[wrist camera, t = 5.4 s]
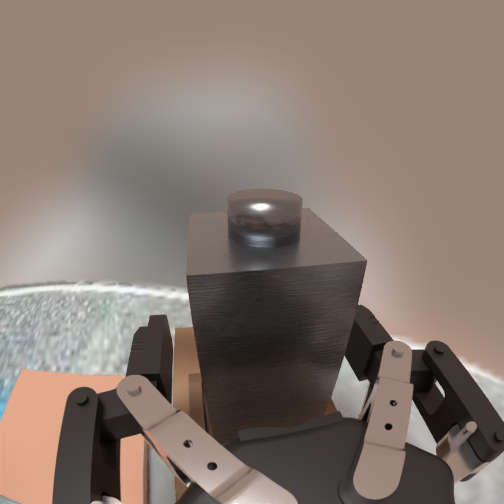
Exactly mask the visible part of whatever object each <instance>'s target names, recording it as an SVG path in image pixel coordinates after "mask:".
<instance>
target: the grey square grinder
mask: <svg viewBox="0 0 504 504" xmlns="http://www.w3.org/2000/svg"><path fill="white" fill-rule="evenodd" d="M227 210H228V211H227V212H211V213H197V214H190V223H189V237H188V253H187V272H186V277H187V285H188V294H189V301H190V309H191V316H192V323H193V330H194V336H195V343H196V349H197V355H198V361H199V367H200V373H201V378H202V384H203V389H204V394H205V400H206V405H207V410H208V415H209V419H210V424H211V429H212V433H213V438H214V439H215V440H216V441H217V442H218V443H219V444H221V445H223V444H225V443H227V442H228V441H230V440H232V439H235V438H238V437H239V431H238V430H245V429H253V428H260V427H281V428H293V427H296V426H298V425H300V424H303V423H305V422H307V421H309V420H311V419H313V418H315V417H318V416H322V415H325V413H326V410H327V407H328V404H329V401H330V398H331V396H332V393H333V390H334V387H335V384H336V380H337V377H338V374H339V371H340V368H341V364H342V361H343V358H344V354H345V351H346V347H347V344H348V340H349V337H350V333H351V329H352V325H353V321H354V317H355V313H356V309H357V305H358V301H359V297H360V292H361V288H362V283H363V278H364V274H365V269H366V263H367V260H366V259H365V258H364V257H363V256H362V255H361V254H360V253H359V252H358V251H356V250H355V249H354V248H353V247H352V246H351V245H350V244H349V243H348V242H347V241H345V240H344V239H343V238H342V237H341V236H340V235H339V234H338V233H337V232H335V231H334V230H333V229H332V228H331V227H330V226H329V225H327V224H326V223H325V222H324V221H323V220H322V219H321V218H319V217H318V216H317V215H316V214H315V213H314V212H312V211H311V210H310V209H309V208H302V198H301V197H300V196H299V195H297V194H294V193H291V192H287V191H281V190H273V189H252V190H244V191H238V192H235V193H232V194H230V195H229V196H228V197H227Z"/></svg>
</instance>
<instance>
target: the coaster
mask: <svg viewBox="0 0 504 504" xmlns="http://www.w3.org/2000/svg"><path fill="white" fill-rule="evenodd" d="M125 377H126V376H106V375H83V374H68V373H56V372H46V371H37V370H28V369H22V371H21V373H20V375H19V377H18V379H17V382H16V384H15V386H14V389H13V391H12V393H11V396H10V398H9V401H8V403H7V406H6V408H5V411H4V413H3V416H2V419H1V422H0V496H2V497H4V498H6V499H9V500H11V501H13V502H16V503H18V504H52V497H53V484H54V473H55V465H56V457H57V450H58V443H59V437H60V431H61V425H62V420H63V415H64V410H65V405H66V401H67V397H68V395H69V394H70V393H71V392H72V391H73V390H74V389H76V388H79V387H89V388H92V389H93V390H94V391H95V392H96V393H102V392H106V391H110V390H113V389H115V388H117V385H118V383H119V382H120V381H121V380H122V379H123V378H125ZM120 484H121V502H122V503H123V504H148V443H147V442H146V441H145V439H144V438H143V437H142V436H141V434H137V435H134V436H130V437H126V438H122V439H121V447H120Z"/></svg>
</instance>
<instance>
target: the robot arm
mask: <svg viewBox="0 0 504 504" xmlns="http://www.w3.org/2000/svg"><path fill="white" fill-rule="evenodd" d="M344 356H345V357H346V359H347V361H348V362H349V364H350V366H351V368H352V369H353V371H354V373H355V375H356V376H357V378H358V380H359V381H363V380H366V379H368V380H369V382H370V383H369V385H368V388H367V391H366V395H365V399H364V402H363V406H362V409H361V412H360V415H359V418H358V419H355V418H346V417H342V415H341V413H340V411H338V412H334V413H330V414H326V415H322V416H318V417H315V418H313V419H311V420H309V421H307V422H305V423H303V424H300V425H298V426H296V427H293V428H281V427H260V428H253V429H245V430H238V431H239V437H238V438H235V439H232V440H230V441H228V442H227V443H225V444H223V445H221V444H219V443H218V442H217V441H216V440H215V439H214V438H212V437H211V436H210V435H209V434H208V433H207V432H206V431H205V430H203V429H202V428H201V427H200V426H199V425H198V424H197V423H196V422H195V421H194V420H193V419H191V418H190V417H189V416H188V415H187V414H186V413H185V412H184V411H182V410H176V409H175V408H174V407H173V406H172V405H171V402H172V363H173V345H172V338H171V334H170V329H169V324H168V319H167V315H150V318H149V323H148V327H140V328H139V329H138V330H137V331H136V333H135V334H134V337H133V342H132V347H131V352H130V357H129V362H128V367H127V373H126V377H125V378H123V379H122V380H121V381H120V382H119V383H118V385H117V388H115V389H113V390H110V391H106V392H102V393H96V392H95V391H94V390H93V389H92V388H89V387H79V388H76V389H74V390H73V391H72V392H71V393H70V394H69V395H68V397H67V401H66V405H65V410H64V415H63V420H62V425H61V431H60V437H59V443H58V450H57V457H56V465H55V473H54V484H53V497H52V504H123V503H122V502H121V484H120V447H121V439H122V438H126V437H130V436H134V435H137V434H141V436H142V437H143V438H144V439H145V441H146V442H147V443H148V444H149V445H150V447H151V448H152V449H153V450H154V451H155V452H156V453H157V455H158V456H159V457H160V458H161V459H162V460H163V461H164V463H165V464H166V465H167V466H168V467H169V469H170V470H171V471H172V472H173V473H174V474H175V475H176V477H177V478H178V479H179V480H180V481H181V482H182V483H183V484H184V485H185V486H186V487H187V489H186V490H185V491H184V493H183V494H182V495H181V496H180V498H179V499H178V500H177V501H176V503H175V504H455V499H454V484H455V483H457V482H459V481H462V482H463V481H467V480H469V479H471V478H472V477H473V476H474V475H476V474H477V473H478V472H480V471H481V470H482V469H483V468H485V467H486V466H487V465H488V464H490V463H491V462H492V461H493V460H494V459H495V458H497V457H498V456H499V455H500V454H501V453H502V452H503V451H504V422H503V421H502V419H501V418H500V416H499V415H498V413H497V412H496V410H495V409H494V407H493V406H492V404H491V403H490V401H489V400H488V398H487V397H486V396H485V394H484V393H483V391H482V390H481V389H480V387H479V386H478V385H477V383H476V382H475V380H474V379H473V378H472V376H471V375H470V374H469V372H468V371H467V370H466V368H465V367H464V366H463V365H462V363H461V362H460V361H459V359H458V358H457V357H456V356H455V354H454V353H453V352H452V351H451V349H450V348H449V347H448V346H447V345H446V344H444V343H443V342H440V341H431V342H429V343H428V344H427V346H426V348H425V350H411V348H410V347H409V346H408V345H407V344H405V343H403V342H401V341H394V340H393V339H392V338H391V336H390V335H389V334H388V333H387V331H386V330H385V329H384V327H383V326H382V325H381V324H380V323H379V321H378V320H377V319H376V318H375V316H374V315H373V314H372V312H371V311H370V310H369V309H367V308H366V307H364V306H362V305H357V309H356V313H355V317H354V321H353V325H352V329H351V333H350V337H349V340H348V344H347V347H346V351H345V354H344ZM436 381H438V382H439V384H440V385H441V387H442V388H443V390H444V392H445V398H444V397H443V395H442V394H441V392H440V391H439V389H438V387H437V386H436V384H435V383H436ZM412 400H413V401H414V403H415V405H416V407H417V408H418V410H419V412H420V414H421V416H422V417H423V419H424V421H425V423H426V425H427V426H428V428H429V430H430V432H431V434H432V436H433V438H434V439H435V441H436V443H437V446H436V454H437V455H433V454H431V453H429V452H426V451H424V450H422V449H420V448H418V447H416V446H413V445H411V444H409V443H407V442H405V441H406V436H407V430H408V424H409V417H410V411H411V403H412Z"/></svg>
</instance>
